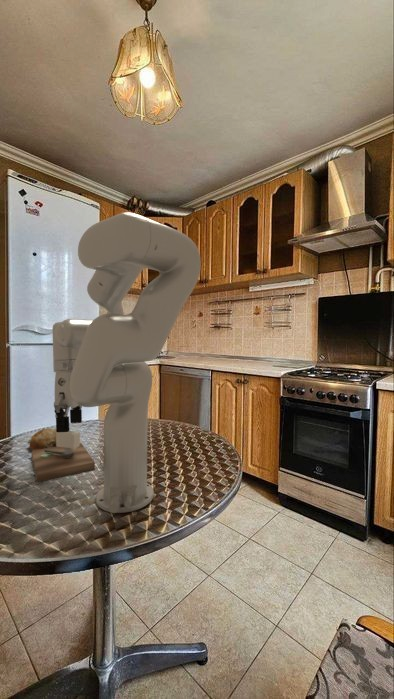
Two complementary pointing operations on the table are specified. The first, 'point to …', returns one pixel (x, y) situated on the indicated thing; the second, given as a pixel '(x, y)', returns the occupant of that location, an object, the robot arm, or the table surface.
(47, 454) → the dial marks
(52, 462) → the brown wooden flat board
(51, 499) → the table surface
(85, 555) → the table surface
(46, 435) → the bread roll
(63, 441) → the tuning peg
